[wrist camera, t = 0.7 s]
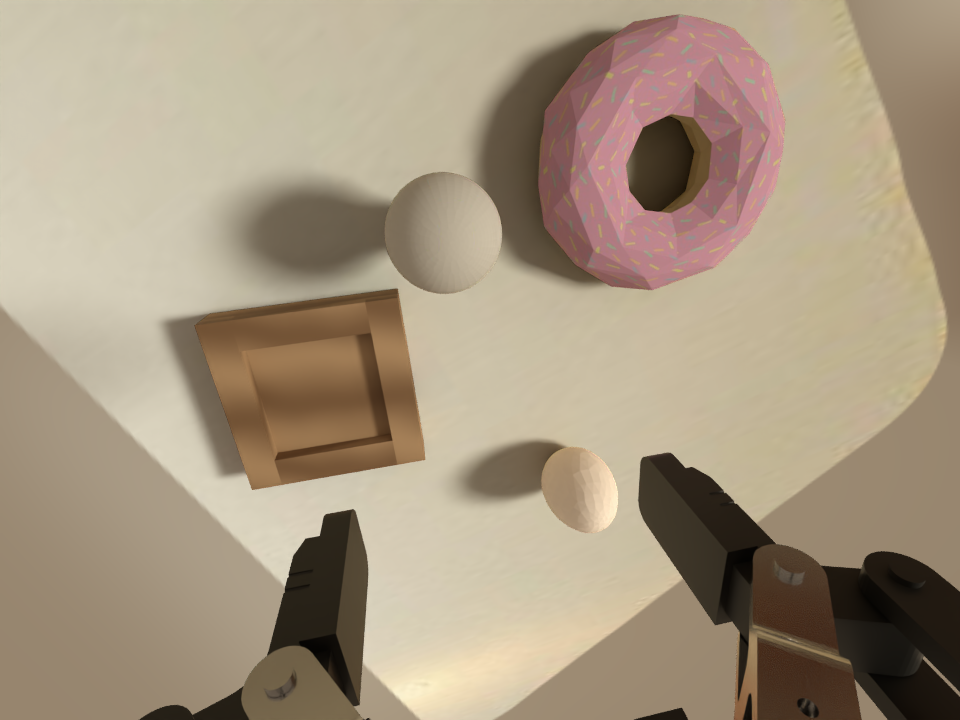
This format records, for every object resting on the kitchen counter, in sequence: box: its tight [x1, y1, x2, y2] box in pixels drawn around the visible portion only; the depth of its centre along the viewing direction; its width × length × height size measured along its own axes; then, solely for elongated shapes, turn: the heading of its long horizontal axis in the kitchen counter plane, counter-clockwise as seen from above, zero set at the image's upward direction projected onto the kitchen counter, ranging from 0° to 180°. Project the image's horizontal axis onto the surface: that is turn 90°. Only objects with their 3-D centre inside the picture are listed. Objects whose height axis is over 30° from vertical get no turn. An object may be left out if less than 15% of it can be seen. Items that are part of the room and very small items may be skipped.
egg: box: [541, 447, 618, 533], centre depth 35 cm, size 5×5×8 cm
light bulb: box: [384, 172, 502, 294], centre depth 25 cm, size 6×6×10 cm
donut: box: [538, 14, 785, 290], centre depth 29 cm, size 16×15×5 cm
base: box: [194, 289, 425, 490], centre depth 32 cm, size 12×12×2 cm
